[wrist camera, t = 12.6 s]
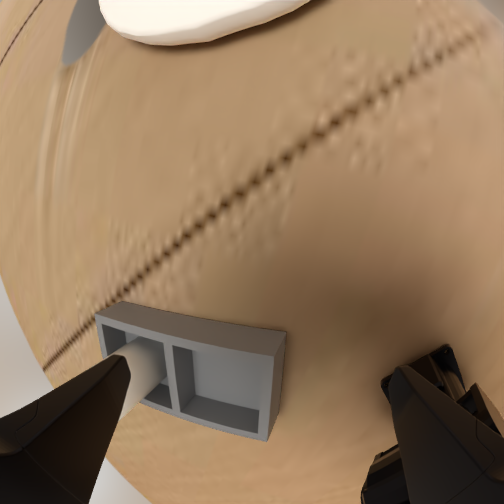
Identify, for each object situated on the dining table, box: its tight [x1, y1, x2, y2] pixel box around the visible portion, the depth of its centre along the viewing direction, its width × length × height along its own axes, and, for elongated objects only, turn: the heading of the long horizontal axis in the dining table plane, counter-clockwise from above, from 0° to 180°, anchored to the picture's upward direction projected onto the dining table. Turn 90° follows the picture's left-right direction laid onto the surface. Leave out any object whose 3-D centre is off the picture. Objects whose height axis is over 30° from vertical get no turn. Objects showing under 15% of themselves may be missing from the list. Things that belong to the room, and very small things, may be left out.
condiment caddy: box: [95, 301, 286, 442], centre depth 23 cm, size 16×9×4 cm, turn 88°
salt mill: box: [92, 336, 167, 421], centre depth 19 cm, size 5×5×14 cm
